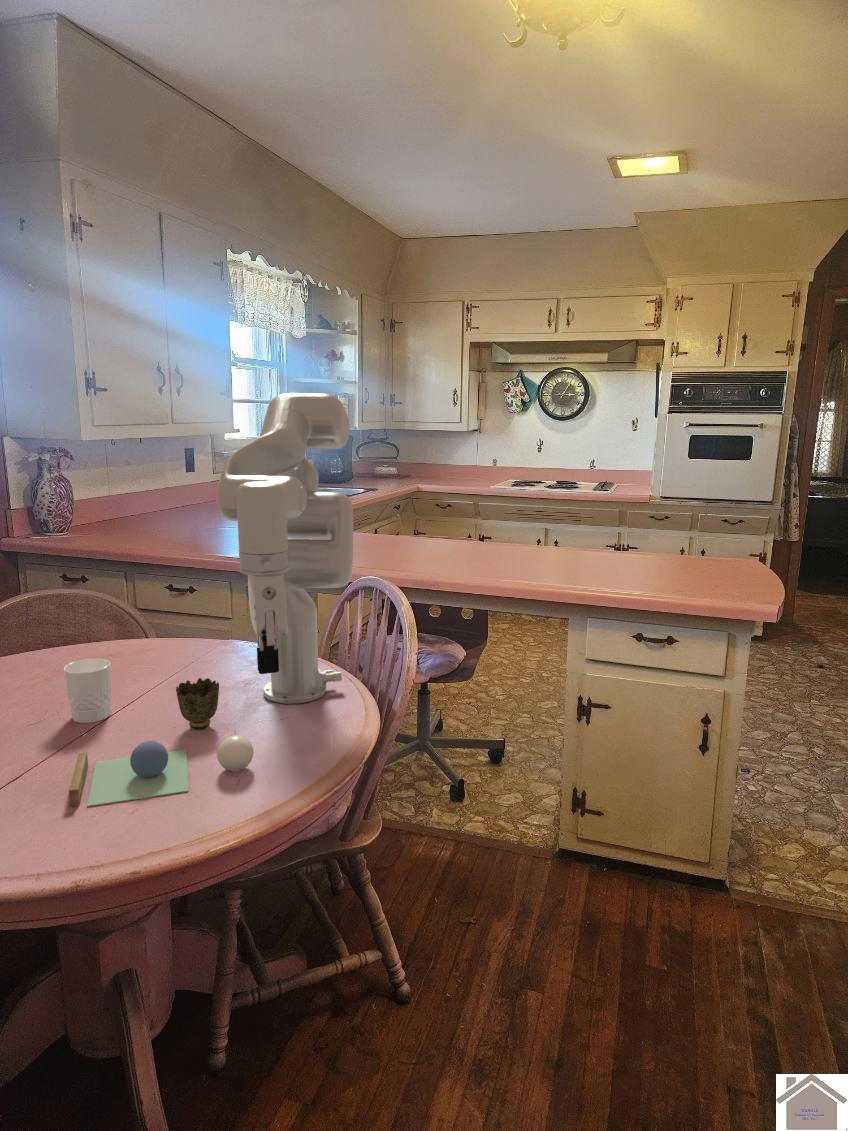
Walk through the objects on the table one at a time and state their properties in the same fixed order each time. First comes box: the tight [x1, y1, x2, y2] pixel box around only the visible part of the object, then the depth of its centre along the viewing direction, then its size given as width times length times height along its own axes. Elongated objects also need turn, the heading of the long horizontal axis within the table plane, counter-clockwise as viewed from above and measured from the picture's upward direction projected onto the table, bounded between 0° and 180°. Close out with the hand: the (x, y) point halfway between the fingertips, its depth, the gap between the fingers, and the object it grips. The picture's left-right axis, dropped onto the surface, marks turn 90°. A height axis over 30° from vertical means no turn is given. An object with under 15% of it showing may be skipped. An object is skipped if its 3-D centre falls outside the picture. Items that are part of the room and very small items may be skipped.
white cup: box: [62, 657, 112, 724], centre depth 134 cm, size 8×8×10 cm
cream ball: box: [216, 734, 254, 772], centre depth 116 cm, size 6×6×6 cm
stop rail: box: [68, 752, 89, 807], centre depth 110 cm, size 1×12×2 cm, turn 19°
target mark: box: [86, 749, 189, 808], centre depth 113 cm, size 14×14×1 cm
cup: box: [175, 677, 220, 731], centre depth 130 cm, size 8×7×8 cm
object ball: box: [130, 740, 169, 778], centre depth 113 cm, size 6×6×6 cm
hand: (268, 671), depth 117 cm, fingers closed
